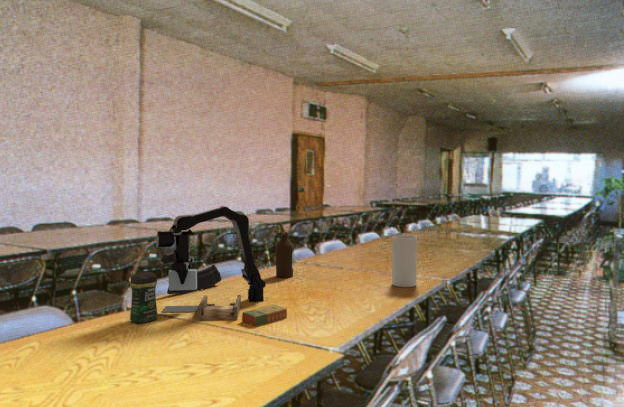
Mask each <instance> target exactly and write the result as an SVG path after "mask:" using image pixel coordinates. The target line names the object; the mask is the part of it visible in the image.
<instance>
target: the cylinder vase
mask: <svg viewBox="0 0 624 407" xmlns="http://www.w3.org/2000/svg"><path fill="white" fill-rule="evenodd" d="M391 237H392V239H391V240H392V241H391V242H392V244H391V246H392V248H391V251H392V252H391V254H392V255H391V284H392V285H393V286H395V287H398V288H399V287H400V288H413V287H416V285H417V280H418V278H417V275H418V271H417V269H418V268H417V267H418V266H417V264H418V236H416V235H415V236H414V235H405V234H404V235H399V234H398V235H392V236H391Z"/></svg>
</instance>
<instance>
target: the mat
mask: <svg viewBox="0 0 624 407" xmlns="http://www.w3.org/2000/svg"><path fill="white" fill-rule="evenodd" d="M198 306H199V304H198V305H166V306H164V308H163V309H162V310H161V311H160V313H161V312H176V313H197V307H198Z"/></svg>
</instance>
